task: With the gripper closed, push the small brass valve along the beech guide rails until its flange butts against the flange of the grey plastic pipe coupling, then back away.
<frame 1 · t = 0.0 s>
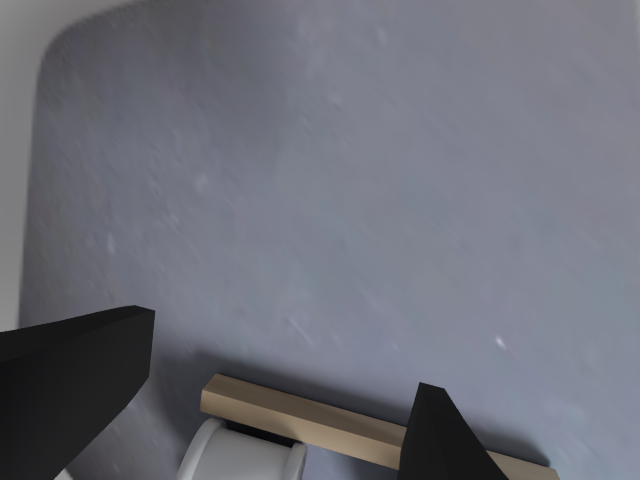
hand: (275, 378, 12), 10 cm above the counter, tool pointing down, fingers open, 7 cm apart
coupling: (259, 452, 25), on the counter
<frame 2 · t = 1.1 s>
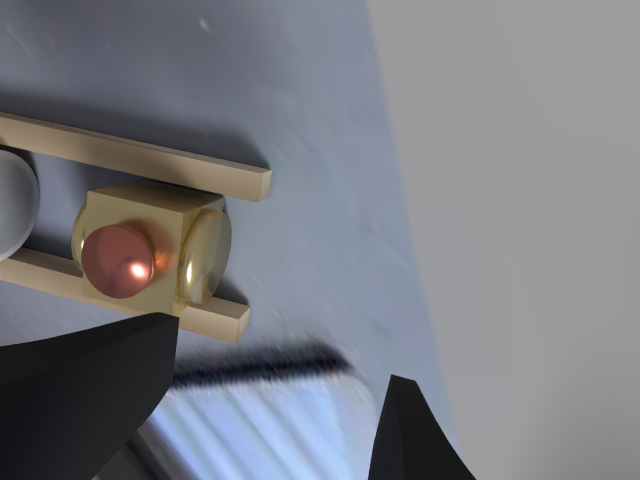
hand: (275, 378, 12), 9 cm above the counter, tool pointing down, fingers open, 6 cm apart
valve: (179, 233, 22), on the counter
guide rails: (93, 213, 23), on the counter
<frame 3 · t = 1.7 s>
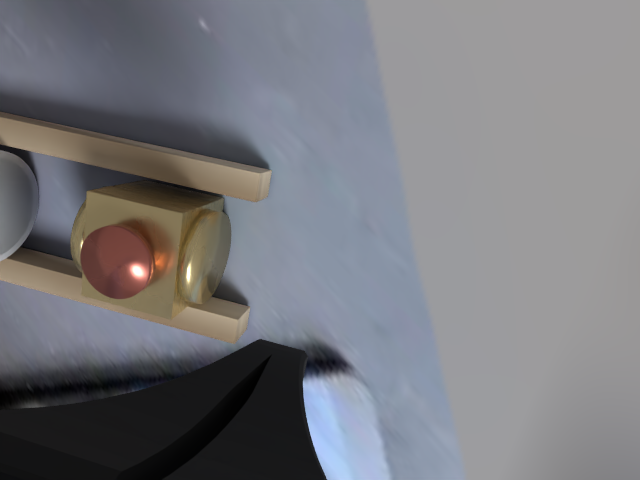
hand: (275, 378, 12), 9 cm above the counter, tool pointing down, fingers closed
valve: (178, 234, 22), on the counter
guide rails: (93, 213, 23), on the counter
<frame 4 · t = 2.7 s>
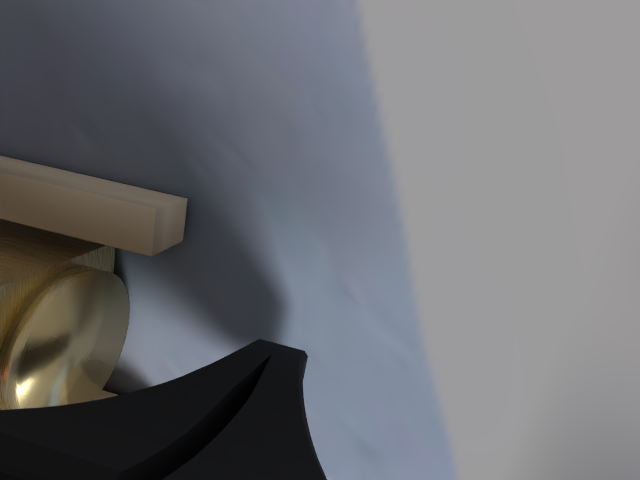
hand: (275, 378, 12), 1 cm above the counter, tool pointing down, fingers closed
valve: (50, 295, 14), on the counter
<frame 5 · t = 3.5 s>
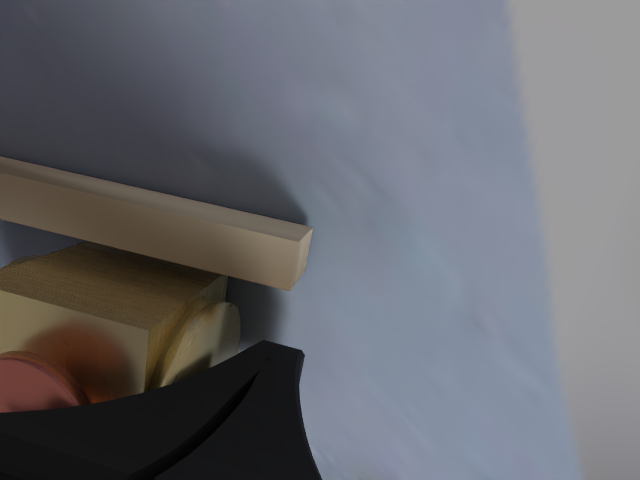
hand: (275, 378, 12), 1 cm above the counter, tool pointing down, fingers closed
valve: (154, 324, 14), on the counter, touching gripper
guide rails: (21, 288, 14), on the counter
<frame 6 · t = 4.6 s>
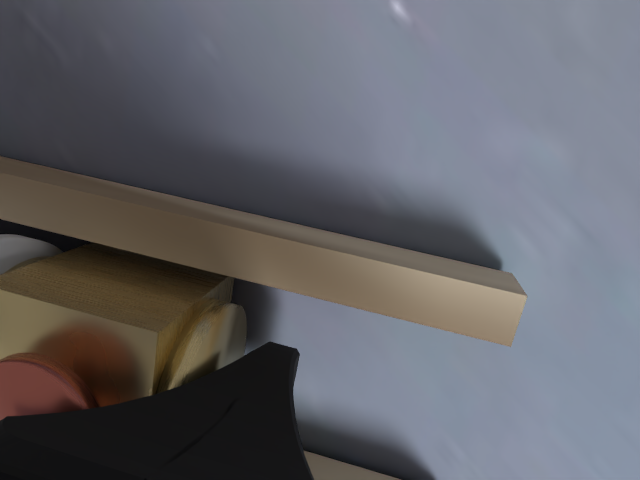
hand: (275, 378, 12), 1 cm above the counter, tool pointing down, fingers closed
valve: (160, 325, 14), on the counter, touching coupling, gripper
guide rails: (172, 329, 13), on the counter
coupling: (7, 284, 14), on the counter
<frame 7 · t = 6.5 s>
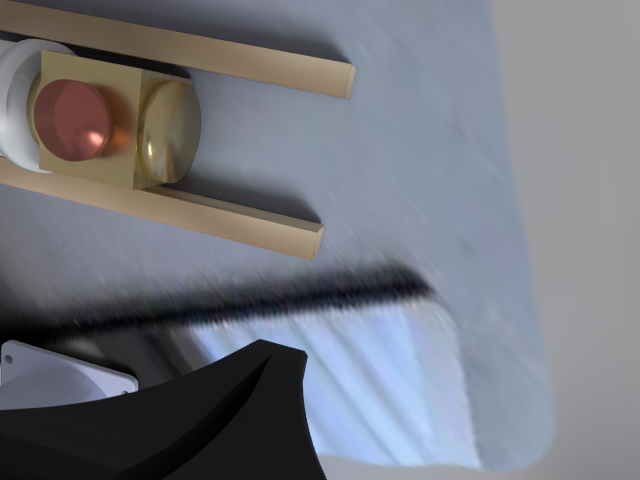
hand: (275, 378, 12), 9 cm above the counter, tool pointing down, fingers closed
valve: (146, 122, 21), on the counter
guide rails: (154, 124, 21), on the counter
coupling: (46, 101, 22), on the counter
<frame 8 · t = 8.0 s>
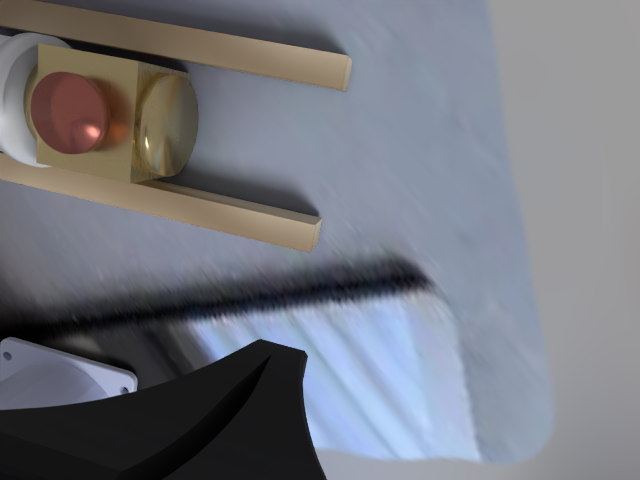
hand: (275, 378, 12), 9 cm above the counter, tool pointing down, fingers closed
valve: (144, 116, 21), on the counter
guide rails: (151, 119, 21), on the counter
coupling: (44, 96, 22), on the counter
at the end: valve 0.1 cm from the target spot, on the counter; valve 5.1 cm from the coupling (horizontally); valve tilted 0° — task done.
